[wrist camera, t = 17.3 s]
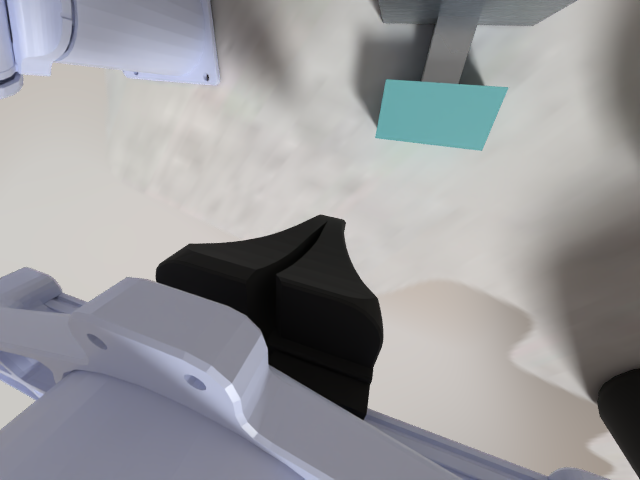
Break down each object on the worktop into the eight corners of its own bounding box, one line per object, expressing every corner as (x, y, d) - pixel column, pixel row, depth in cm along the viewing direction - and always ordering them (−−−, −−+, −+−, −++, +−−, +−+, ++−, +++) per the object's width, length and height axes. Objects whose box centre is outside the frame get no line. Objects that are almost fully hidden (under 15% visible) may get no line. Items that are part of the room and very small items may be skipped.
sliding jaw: (365, 130, 17) (357, 137, 14) (395, -51, 13) (392, -105, 9) (483, 144, 16) (505, 155, 12) (567, -59, 11) (639, -128, 8)
